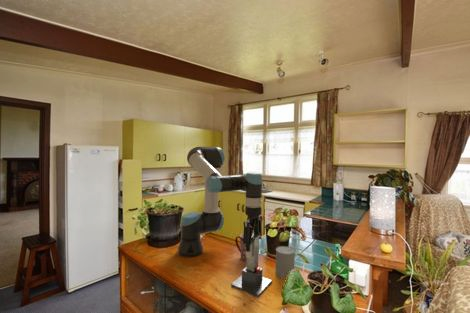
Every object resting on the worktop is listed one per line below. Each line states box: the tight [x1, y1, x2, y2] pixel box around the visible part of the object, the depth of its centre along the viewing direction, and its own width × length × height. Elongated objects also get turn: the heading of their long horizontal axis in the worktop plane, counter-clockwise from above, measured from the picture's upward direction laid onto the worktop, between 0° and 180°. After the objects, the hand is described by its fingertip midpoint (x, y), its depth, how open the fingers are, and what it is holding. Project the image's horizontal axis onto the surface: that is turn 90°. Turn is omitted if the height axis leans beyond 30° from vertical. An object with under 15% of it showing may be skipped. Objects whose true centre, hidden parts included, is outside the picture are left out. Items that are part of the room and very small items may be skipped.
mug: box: [234, 232, 247, 262], centre depth 136 cm, size 13×9×14 cm
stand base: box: [230, 266, 273, 298], centre depth 109 cm, size 14×14×8 cm
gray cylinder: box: [274, 245, 296, 280], centre depth 119 cm, size 10×10×12 cm
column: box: [245, 232, 261, 272], centre depth 108 cm, size 5×5×16 cm
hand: (252, 254), depth 108 cm, fingers open, 6 cm apart
